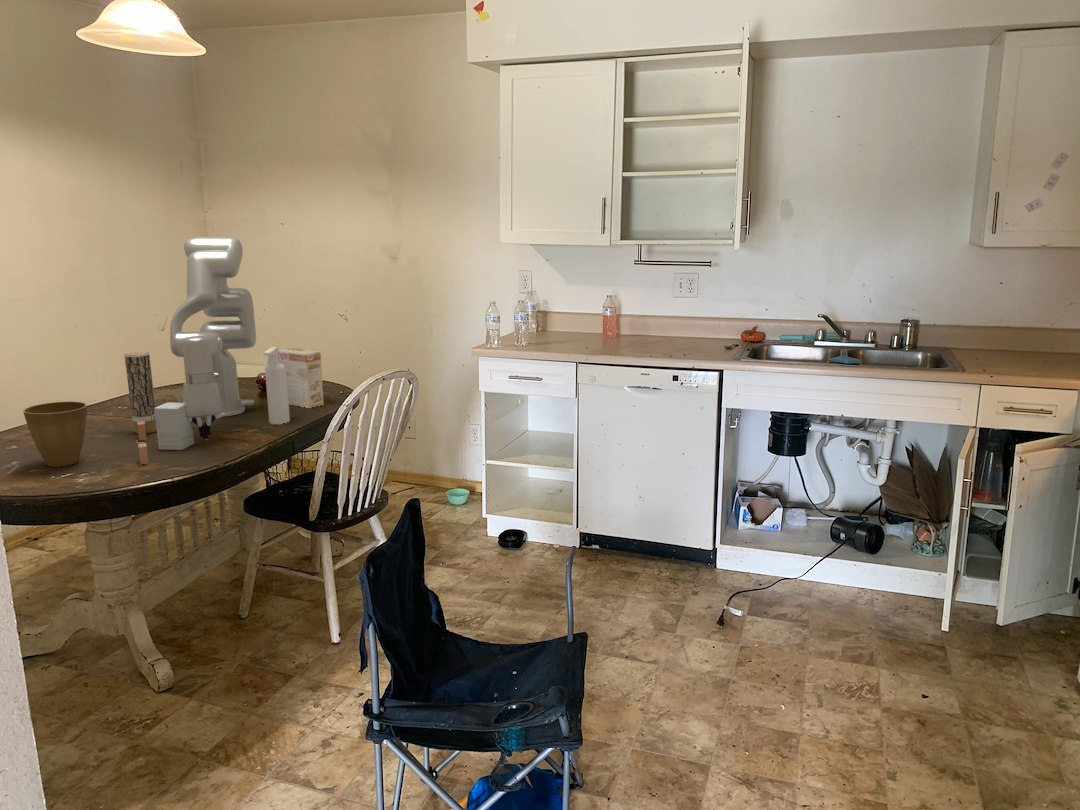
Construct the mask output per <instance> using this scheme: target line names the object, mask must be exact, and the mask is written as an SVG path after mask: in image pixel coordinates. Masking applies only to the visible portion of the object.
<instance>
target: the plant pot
mask: <svg viewBox="0 0 1080 810" xmlns="http://www.w3.org/2000/svg"><path fill="white" fill-rule="evenodd" d="M87 406H88V404H87V403H86V402H81V401H55V402H46V403H40V404H35V405H32V406H28V407H25V408H24V409H23V410H22V412H23V415H24V416H23V417H24V418H25V422H26V425H27V429H28V431H29V433H30V435H31V437H32V440H33V443H34V444H35V447H36V449H37V451H38V453H39V454H40V455H41V457H42V459H43V461H44V462H45V464H46V466H47V465H48V467H49V466H51V468H61V466H63V467H68V466H67V465H69V466H72V465H71V464H73V465H75V464H77V463H78V462H79V460H80V457H81V452H82V448H83V444H84V439H85V434H86V433H85V432H86V426H87V413H88V412H87V409H88V407H87ZM76 462H77V463H76ZM74 463H75V464H74Z"/></svg>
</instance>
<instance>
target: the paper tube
mask: <svg viewBox="0 0 1080 810" xmlns="http://www.w3.org/2000/svg"><path fill="white" fill-rule="evenodd" d="M124 361H125V370H126V379H127V388H128V395H129V402H130V403H129V404H130V412H131V419H132V427H133V432H134V433H135V434H137V435H139V434H138V425H137V422H139V421H145V429H146V435H148V434H153V433H155V432H157V429H156V421H155V413H154V408H156V401H155V393H154V383H153V377H152V367H151V357H150V352H149V351H131V352H125V353H124Z"/></svg>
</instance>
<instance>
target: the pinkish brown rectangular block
mask: <svg viewBox="0 0 1080 810" xmlns="http://www.w3.org/2000/svg"><path fill="white" fill-rule="evenodd" d="M137 425H138V434H137V435H138V440H139V442H140V441H141V440H142V441H147V434H146V429H145V421H139V422H137ZM137 447H138V448H137V449H138V453H139V454H138V455H139V464H140V466H142V465H141V464H145V465H149V464H148V463H149V456H148V454H149V453H148V448H147V447H148V445H147V442H141V443H137Z"/></svg>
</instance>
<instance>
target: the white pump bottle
mask: <svg viewBox="0 0 1080 810" xmlns="http://www.w3.org/2000/svg"><path fill="white" fill-rule="evenodd" d="M279 350H280V349H279V347H278V346H271V347H270V348H268V349H267V350H266V351H264V352H263V356H264V357H267V360H266V366H265V368H264V371H265V373H264V374H265V384H266V385H265V387H266V398H267V409H268V411H267V412H268V423H269V422H270V423H271V424H270V423H269V424H270V425H275V424H276V425H284V424H283V423H285V424H288V423H290V422H291V419H290V407H289V406H290V405H289V403H288V389H287V375H286V368H285V366H284V365H283V364H282V362H281V357H280V356H279V355H278V352H279ZM278 358H279V360H278ZM289 421H290V422H289ZM287 422H288V423H287Z"/></svg>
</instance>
